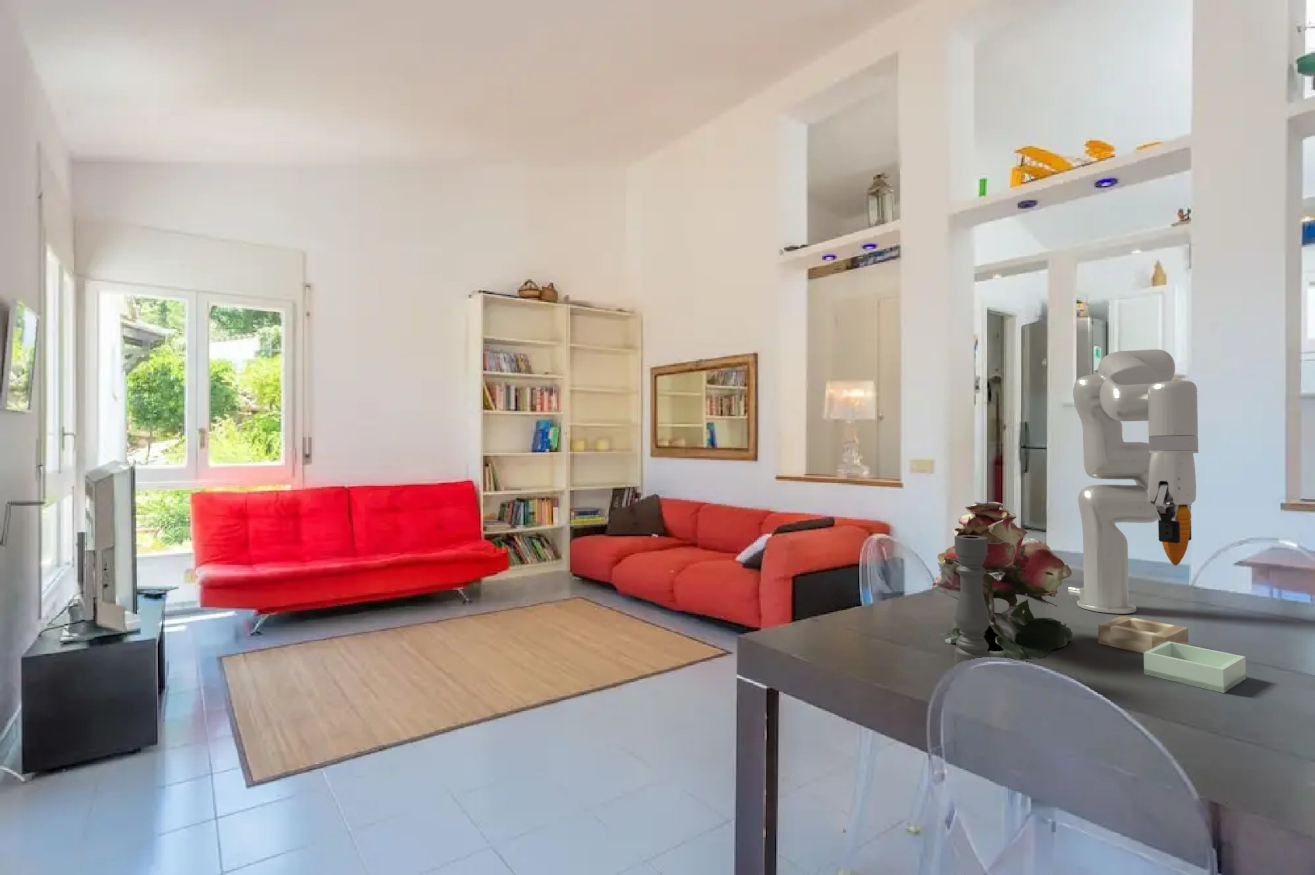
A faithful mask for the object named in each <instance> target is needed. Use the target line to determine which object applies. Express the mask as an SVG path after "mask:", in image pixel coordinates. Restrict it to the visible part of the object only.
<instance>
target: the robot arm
mask: <svg viewBox="0 0 1315 875" xmlns="http://www.w3.org/2000/svg"><path fill="white" fill-rule="evenodd" d="M1175 373H1176V364H1175V360H1174V358H1173V357H1172V355H1171V354H1170V353H1169V352H1168V351H1166V350H1162V349H1140V350H1137V349H1136V350H1120V351H1114V352H1111V353H1109V354H1107V355H1105V356H1104V357H1103V358H1101V359H1100V361H1099V363H1098V365H1097V373H1096V374H1095V373H1094V374H1088V375H1087V374H1086V375H1084V376H1081V377H1079V378H1078V379H1076V381H1075V382H1074V384H1073V389H1072V397H1073V404H1074V407H1075V409H1076V412H1077V415H1078V416H1079V419H1080V421H1081V425H1082V427H1081V428H1082V445H1083V446H1082V448H1083V449H1082V450H1083V451H1082V452H1083V466H1084V470H1085V471H1084V472H1085V473H1086V475H1087V476H1088V477H1090V478H1092V479H1097V480H1133V481H1134V482H1135V484H1136V485H1135V484H1092V485H1089V486H1085V487H1083V488H1082V489H1081V490H1080V491H1079V493H1078V496H1077V497H1078V498H1077V499H1078V500H1077V501H1078V509H1079V512H1080V519H1081V524H1082V546H1083V547H1082V550H1083V552H1082V553H1083V554H1082V555H1083V558H1082V559H1083V586H1082V587H1077V586H1076V587H1075V586H1068V588H1067V594H1068V595H1070V596H1077V597H1078V598H1079V599H1077V600H1076V604H1077V606H1078V607H1079V608H1082V609H1084V610H1088V611H1091V612H1092V611H1093V612H1097V613H1098V612H1099V613H1105V614H1116V615H1118V614H1119V615H1120V614H1125V615H1126V614H1133V613H1136V612H1137V606H1136V605H1135V604H1134V603H1132V602H1131V603H1130V602H1129V601H1130V600H1129V552H1128V551H1129V547H1128V546H1129V545H1128V544H1129V543H1128V540H1127V537H1126V535H1125V533H1124V532H1122V531H1121V530H1120V529H1119V527H1117V526H1116V524H1117V523H1119V524H1121V523H1129V524H1131V523H1132V524H1133V523H1135V524H1136V523H1137V524H1142V523H1143V524H1144V523H1145V524H1148V523H1150V524H1151V523H1154V522H1156V521H1157V523H1158V525H1157V526H1158V527H1157V528H1158V541H1159V542H1161V543H1162V542H1169V543H1179V542H1180V522H1177V517H1178V506H1183V507H1186V508H1188V509H1189V510H1190V514H1191V515H1192V513H1191V510H1192V509H1191V508H1192V504H1193V503H1195V501H1196V498H1197V478H1196V476H1197V475H1196V464H1195V457H1194V454H1199V426H1198V425H1199V423H1198V419H1199V418H1198V416H1199V415H1198V412H1199V411H1198V388H1197V385H1196V383H1194V382H1193V381H1191V380H1173V379H1174V377H1175ZM1122 422H1147V423H1148V424H1147V426H1148V428H1147V429H1148V442H1143V441H1141V442H1140V441H1132V442H1131V441H1124V438H1123V423H1122ZM1187 494H1188V496H1187ZM1170 503H1174V504H1170ZM1170 508H1172V512H1171V509H1170ZM1191 540H1192V520H1191V521H1190V537H1189V541H1191Z"/></svg>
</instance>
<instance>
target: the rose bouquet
mask: <svg viewBox="0 0 1315 875" xmlns="http://www.w3.org/2000/svg"><path fill="white" fill-rule="evenodd" d="M1003 506H1004V504H1003V503H1001V502H997V501H988V502H985V503H983V502H976V501H975V502H974V504H971V505H970V506H964V508H965V509H966V510H967V511H968V512H970V513H968V514H963V515H962V516H960V517H959V518H957V519H958V524H959V525H962V528H961V527H957V528H956V527H955V528H953V529H952V534H953V535H954V537H955V536H961V535H970V536H982V537H986V538H987V556H986V559H985V561H984V563H983V565H982V567H983V568H985V569H986V574H985V575H983V577H982V582H983V595H984V599H985V603H986V607H987V611H988V615H989V618H990V623H989V627H988V628H987V630H986V631H985V635H984V636H983V638H985V640H986V642H987V643H988V644H994V641H995V643H996V644H997V645H999V646H1000V647H1001V648H1002V650H1000V651H999V650H997V651H995V650H994V651H993V650H989V648H988V649H987V650H988V651H989V652H990V654H993V655H995V656H998V657H1002V658H1004V657H1005V658H1004V659H1006V658H1011V659H1014V660H1025V661H1028V662H1027V663H1031V662H1033V661H1035V659H1037V660H1041V659H1043V658H1045V657H1046V656H1048V655H1049V654H1052V651H1053V650H1056V649H1062V648H1063V647H1065V646H1067V644H1068V642H1069V641H1072V640H1073V632H1072V630H1071V629H1072V628H1070V627H1069V626H1068V627H1067V623H1064V624H1062V622H1061V621H1059V620H1058V619H1057V620H1056V619H1054V618H1052V617H1035V616H1034V614H1033V613H1032V611H1031V609H1030V604H1029V599H1027V598H1026V600H1024V601H1022V602H1020V603H1019V604H1017V603H1018V599H1017V596H1023V597H1028V598H1031V599H1033V600H1036V601H1037V602H1040V603H1042V604H1046V605H1047V606H1048V605H1053V606H1055V607H1058V605H1057V604H1054V602H1053V603H1052V602H1050V601H1047V600H1045V599H1044V598H1043V597H1047V596H1049V597H1051V598H1056V596H1057V594H1058V593H1059V591H1058V588H1059V587H1060V586H1061V585H1062V584H1063V582H1062V580H1065V579H1066V578H1069V577H1071V576H1072V574H1073V573H1072V569H1071V568H1070V566H1069V565H1068V564H1065V562H1064V561H1063V560H1062V559H1061V558H1059V557H1058V556H1057V555H1056V554H1055V553H1054V552H1053V551H1052V550H1051V547H1050V546H1048V544H1047V543H1046V542H1043V541H1040V540H1039V539H1036V538H1032V537H1031V538H1030V537H1025V536H1026V534H1028V531H1026V530H1025V528H1020V527H1018V526H1017V524H1015V522H1013V521H1014V520H1015V519H1017V517H1018V516H1017V515H1016V514H1015V513H1014V512H1010V511H1009V510H1008V509H1006V508H1004V507H1003ZM956 556H957V555H956V554H955V543H954V544H953V545H952V546H949V547H948V548H947V549H945V551H943V552H942V553H938V554H937V560H938V562H937V565H938V571H939V572H940V573H939V576H935V580H936V581H937V582H933V583H932V584H931V585H932V587H931V588H932V589H933V590H936V591H938V592H940V593H942V594H944V595H947V596H949V597H951V598H953V599H955V600H957V601H958V600H959V596H960V591H961V586H960V575H959V573H958V572H957V571H956V569H957V567H958V566H960V563H959V561H958V559H957V557H956ZM996 599H1001V600H1004V601H1006V603H1008V608H1007V609H1006V610H1005V611H1002V612H995V600H996ZM1023 611H1024V612H1023ZM959 631H960V629H959V628H958V627H957V625H956V623H955V622H954V623H953V624H952V626H951V629H950V630H948V631H947V632H943V633H939V636H950V637H948V638H945V639H944V643H946V644H956V641H957V639H959V637H960V635H961V633H960V632H959ZM1032 658H1033V659H1032Z"/></svg>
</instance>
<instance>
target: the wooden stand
mask: <svg viewBox="0 0 1315 875" xmlns="http://www.w3.org/2000/svg"><path fill="white" fill-rule="evenodd" d="M1097 631H1098V636H1097V638H1098V639H1097V640H1098V644H1100V645H1103V646H1104V645H1105V646H1108V647H1109V646H1110V647H1114V648H1118V649H1123V650H1128V651H1132V652H1136V653H1140V654H1144V652H1146V651H1148V650H1150V649H1152V648H1155V647H1157V646H1159V645H1161V644H1163V643H1166V642H1168V641H1169V642H1174V643H1179V644H1184V645H1189V627H1186V626H1181V625H1175V624H1170V623H1166V622H1165V623H1163V622H1159V621H1155V620H1154V621H1153V620H1147V619H1142V618H1136V617H1131V616H1125V615H1121V616H1118V617H1115V618H1112V619H1110V620H1107V621H1104V622H1101V623H1099V624H1097Z"/></svg>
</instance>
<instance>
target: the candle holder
mask: <svg viewBox="0 0 1315 875" xmlns="http://www.w3.org/2000/svg"><path fill="white" fill-rule="evenodd" d="M954 544H955V554H956V555H957V556H956V557H957V559H958V561H959V563H960V566H958V567H957V569H956V571H957V572H958V573H959V575H960V586H961V591H960V596H959V600H957V604H956V609H955V614H954V623H956V625H957V627H958V628H959V629H960V631H959V632H960V633H961V635H960V637H959V639H957V641H956V643H955V644H956V646H957V647H955V649H954V666H955V665H956V664H958V663H960V662H962V661H964V660H971V659H975V658H982V657H990V658H991V653H990V652H989V651H990V650H989V647H990V645H989V644H990V643H987V642H986V640H985V638H983V636H984V635H985V631H986V630H987V628H988V627H989V623H990V618H989V615H988V611H987V607H986V603H985V599H984V595H983V582H982V577H983V575H985V574H986V569H985V568H983V567H982V565H983V563H984V561H985V559H986V556H987V538H986V537H982V536H970V535H961V536H955V535H954ZM987 649H988V650H987Z"/></svg>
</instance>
